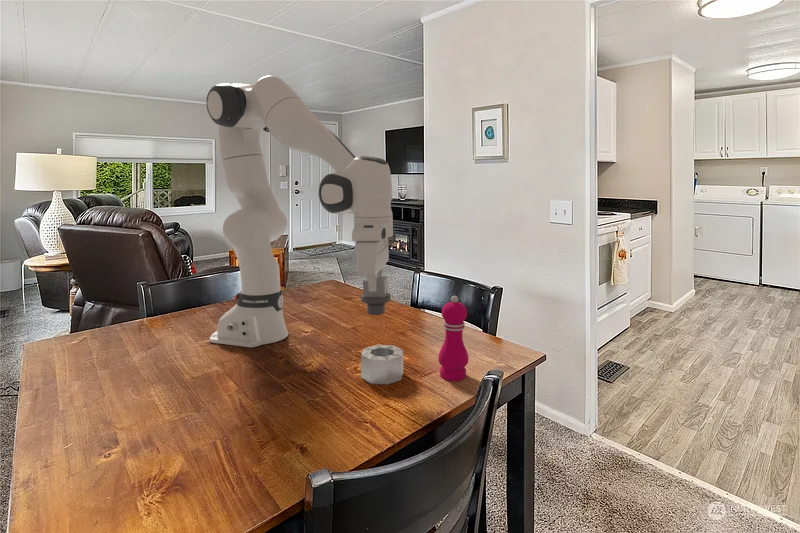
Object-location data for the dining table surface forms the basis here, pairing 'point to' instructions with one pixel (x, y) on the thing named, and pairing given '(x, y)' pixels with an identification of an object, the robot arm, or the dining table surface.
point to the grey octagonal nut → (382, 364)
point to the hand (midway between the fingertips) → (375, 287)
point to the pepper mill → (453, 342)
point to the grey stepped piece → (376, 296)
